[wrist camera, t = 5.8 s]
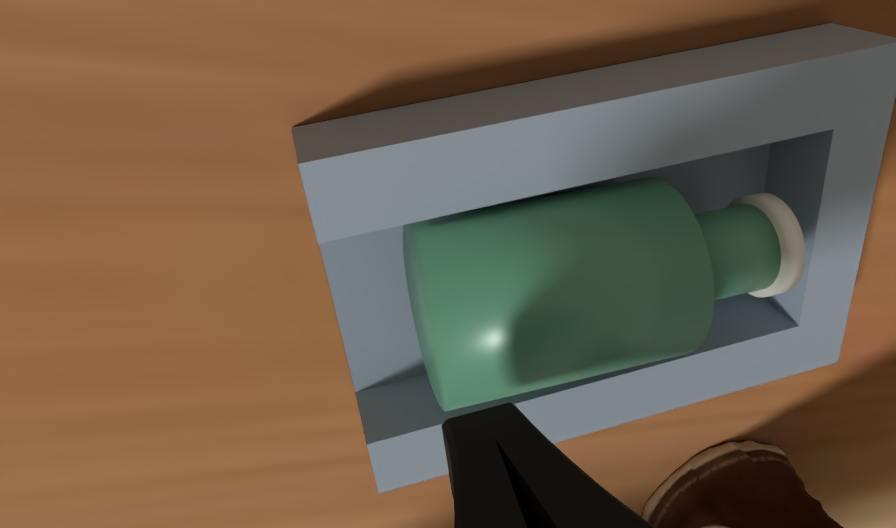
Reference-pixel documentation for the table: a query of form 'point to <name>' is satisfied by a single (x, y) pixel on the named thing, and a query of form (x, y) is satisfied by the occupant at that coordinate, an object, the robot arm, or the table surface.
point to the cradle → (596, 164)
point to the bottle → (584, 283)
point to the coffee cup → (736, 492)
